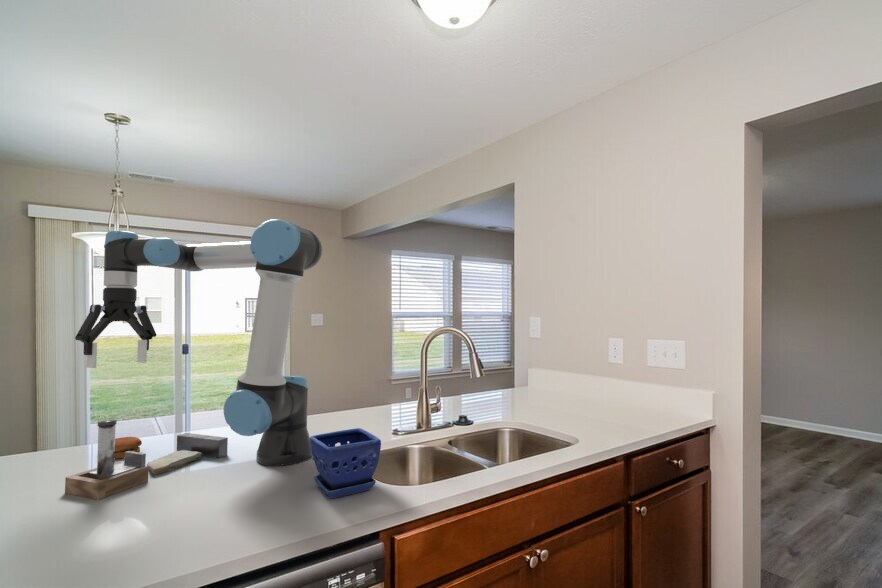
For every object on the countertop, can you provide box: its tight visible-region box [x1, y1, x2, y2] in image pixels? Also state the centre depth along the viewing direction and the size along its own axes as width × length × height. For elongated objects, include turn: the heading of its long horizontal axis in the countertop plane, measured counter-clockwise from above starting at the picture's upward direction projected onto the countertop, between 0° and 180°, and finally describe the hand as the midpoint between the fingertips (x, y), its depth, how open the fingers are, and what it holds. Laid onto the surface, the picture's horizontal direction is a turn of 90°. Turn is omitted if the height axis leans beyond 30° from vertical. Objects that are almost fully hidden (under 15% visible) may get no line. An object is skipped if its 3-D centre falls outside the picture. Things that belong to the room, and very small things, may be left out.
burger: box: [114, 436, 142, 460], centre depth 129 cm, size 10×9×5 cm
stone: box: [146, 450, 202, 476], centre depth 120 cm, size 15×11×3 cm
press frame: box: [64, 461, 150, 501], centre depth 105 cm, size 11×12×4 cm
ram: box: [88, 419, 147, 480], centre depth 107 cm, size 7×9×14 cm
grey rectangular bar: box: [176, 432, 229, 459], centre depth 129 cm, size 16×3×5 cm, turn 71°
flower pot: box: [310, 427, 382, 499], centre depth 104 cm, size 13×13×12 cm
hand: (117, 365), depth 122 cm, fingers open, 13 cm apart
